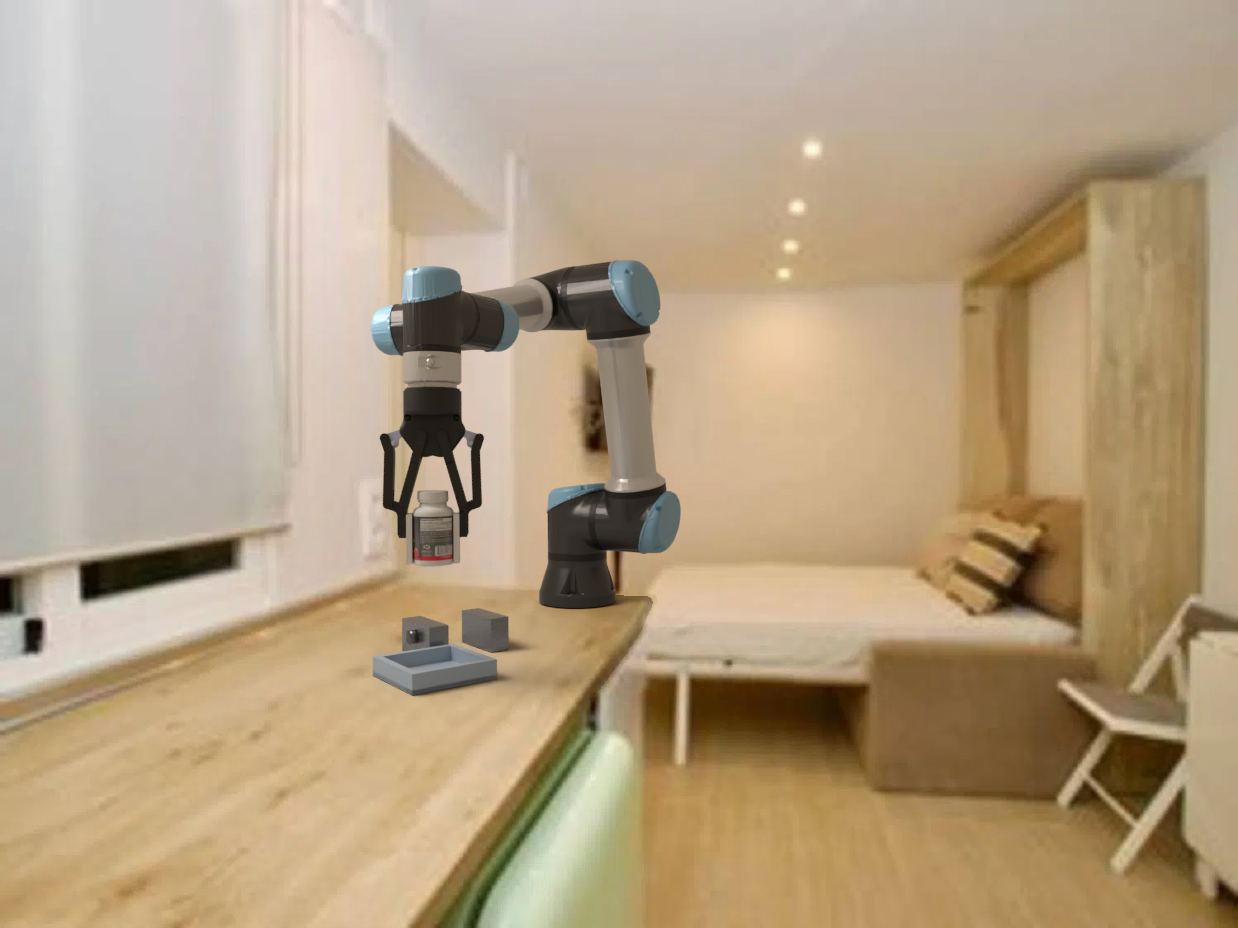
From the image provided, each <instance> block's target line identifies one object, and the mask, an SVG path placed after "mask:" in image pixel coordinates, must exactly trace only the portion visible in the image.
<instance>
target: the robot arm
mask: <svg viewBox="0 0 1238 928" xmlns="http://www.w3.org/2000/svg"><path fill="white" fill-rule="evenodd" d="M461 279H462V278H461V275H460V273H459V272H458V271H456V270H455V269H454V268H450V267H446V266H435V265H423V266H416V267H412V268H409V269H407V271H405V272H404V275H403V282H402V296H401V304H400V303H395V304H394V303H393V304H391V305H387V306H382V307H380V308H379V309H378V310H376V311H375V313H374V314H373V315H372V319H371V322H370V331H371V337H372V341H373V344H374V345H375V346H376V348H377V349H378V350H379V351H380V352H381V353H383V354H385V355H389V356H400V357H402V368H403V369H402V370H403V371H402V375H403V376H402V378H403V379H402V382H403V383H404V384H406V385H407V387H405V388H404V390H403V393H402V394H403V395H402V396H403V397H402V398H403V399H402V400H403V403H402V404H403V411H402V412H403V419H402V423H401V424H400V426H399V429H397V430H393V431H391V432H388V433H381V434H380V435H379V440H380V443H381V446H382V449H383V481H382V507H383V508H384V509H385V510H389V511H392V512H394V513H395V514H396V516H397V517H396V518H397V524H396V525H397V533H396V534H397V536H398V538H399V539H405V550H406V553H405V554H406V555H405V557H406V558H405V559H406V561H405V562H406V563H405V565H413V564H414V563H413V512H409V511H408V510H409V506H410V503H411V501H412V496H413V492H414V490H415V489H414V488H415V485H416V483H417V479H418V474H419V470H420V467H421V465H422V460H423V458H428V457H436V458H437V457H438V458H443V461H444V463H445V467H446V470H447V473H448V476H449V480H450V483H451V487H452V490H453V493H454V497H455V501H456V504H457V507H458V512H454V514H453V531H454V563H453V564H461V563H460V562H461V538H467V537H468V535H469V532H470V531H469V528H470V527H469V514H470V512H471V511H474V510H475V509H479V508H480V507H481V506H482V504H483V499H482V498H483V496H482V495H483V494H482V492H483V491H482V468H481V467H482V466H481V449H482V446H483V444H484V440H485V436H484V434H483V433H480V432H479V433H477V432H473V431H470V430H467V429H466V427H465V425H464V423H463V421H462V420H463V417H462V413H463V412H462V411H463V410H462V409H463V407H462V402H463V401H462V398H463V397H462V391H461V389H460V388H458V387H457V386H460V384H461V383H462V352H464V351H484V352H486V353H490V352H496V353H497V352H498V353H500V352H503V351H506V350H508V349H510V348H511V347H512V346H513V345H514V343H515V342H516V340H517V338H518V336H519V333H520V330H522V331H524V332H527V333H537V332H540V331H541V332H543V331H585V332H586V333H585V335H586V341H587V343H589V344H590V345H591V346H593V347H594V349H595V350H596V355H597V363H598V375H599V382H600V389H601V390H600V392H601V400H602V408H603V416H604V427H605V428H604V429H605V434H606V435H605V436H606V445H607V453H608V461H609V462H608V463H609V469H610V478H608V480H607V481H606V483H605V482H596V483H586V484H577V485H571V486H563V487H557V488H553V489H551V490H550V492H549V493H548V495H547V496H548V497H547V509H546V514H547V565H546V568H545V571H544V575H543V578H542V581H541V585H540V588H539V591H538V601H539V604H541V605H543V606H546V607H547V606H548V607H553V608H566V609H567V608H568V609H582V608H583V609H585V608H586V609H587V608H597V607H605V606H609V605H612V604H615V603H616V602H617V595H616V594H617V593H616V592H617V591H616V588H615V585H614V581H613V578H612V574H611V571H610V569H609V566H608V562H607V561H608V560H607V559H608V557H607V556H608V553H607V552H608V551H609V552H623V553H624V552H625V553H637V554H638V553H639V554H641V555H646V554H661V553H663V552H665V551H666V550H668V549H669V548H670V547H671V546H672V544H673V543H674V542H675V539H676V537H677V534H678V531H679V528H680V524H681V522H680V521H681V515H682V513H681V512H682V508H681V502H680V499H679V497H678V494H676V493H675V492H673V491H672V490H668V489H667V482H666V481H667V480H666V477H663V475H661V474H660V473H659V472H658V471H657V463H656V452H655V445H654V443H655V442H654V435H653V426H652V417H651V416H652V415H651V414H652V413H651V404H650V396H649V388H648V387H649V386H648V378H647V366H646V356H645V349H644V344H645V342H646V341H647V339H648V338H649V337H650V336H651V334H652V333H651V326H652V325H653V324H654V325H655V323H656V322H657V321H658V319H659V317H660V309H661V298H660V297H661V296H660V290H659V288H658V284H657V281H656V280H655V277H654V274H652V272H651V271H650V270H649V267H647V266H646V265H645V263H643V262H641V261H639V260H634V259H630V260H629V259H626V260H621V259H619V260H618V259H616V260H613V261H605V262H598V263H591V264H583V265H576V266H575V265H573V266H566V267H562V268H558V269H556V270H551V271H548V272H545V273H542V274H539V275H535V276H531V277H526V278H522V279H520V280H517V281H516V282H515V283H514V284H513V285H512V286H507V287H500V288H494V289H488V290H482V291H475V292H467V291H464V290H463V285H462V281H461ZM401 438H402V439H403V441H405V443H406V444H407V446H408V447H409V449H411V451H412V452H411V456H410V459H409V465H408V468H407V472H406V475H405V478H404V482H403V485H402V490H401V494H400V497H399V500H398V501H397V500H395V491H396V490H395V487H396V486H395V484H396V449H397V448H398V447H399V446H400V439H401ZM463 438H464V439H465V440H466V446H467V447H468V448H470V465H471V466H470V468H471V469H470V470H471V471H470V472H471V497H472V499H471V500H467V497H466V494H465V493H466V492H465V491H464V486H463V483H462V480H461V476H460V472H459V469H458V466H457V463H456V459H455V455H454V450H456V448H457V446H458V445H459V443H460V442H461V440H462V439H463Z"/></svg>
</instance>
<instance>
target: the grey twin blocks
mask: <svg viewBox="0 0 1238 928" xmlns="http://www.w3.org/2000/svg"><path fill="white" fill-rule="evenodd" d="M449 628H450V627H449V624H446V623H443V622H441V621H438V620H435V619H431V618H428V617H425V616H422V615H416V616H408V617H402V618H401V648H402V651H401V652H403V651H410V650H416V649H422V648H429V647H435V646H441V645H448V644H450V643H449V640H450V639H449V634H450V633H449V631H450V629H449ZM509 632H510V631H509V616H507V615H504V614H501V613H498V612H494V611H490V610H487V609H483V608H480V607H478V608H476V607H475V608H470V609H469V608H468V609H462V610H461V642H462V643H464V644H466V645H469V646H471V647H475V648H477V649H480V650H484V651H485V652H489V653H497V652H502V651H509V638H510V637H509V636H510V635H509Z"/></svg>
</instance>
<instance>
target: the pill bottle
mask: <svg viewBox="0 0 1238 928" xmlns="http://www.w3.org/2000/svg"><path fill="white" fill-rule="evenodd" d="M416 494H417V496H416V500H417V502H418V503H419V504H418V505H419V506H417V507H415V508H414V509H413V511H412V513H413V564H414V565H415V566H418V567H425V568H426V567H428V568H429V567H431V568H432V567H433V568H434V567H444V566H445V567H446V566H451V565H453V564H455V563H454V531H453V514H454V510H453V508H452V507H450V506H448V504H447V503H448V502H449V498H450V497H449V491H448V490H447V489H437V490H436V489H431V490H430V489H424V490H423V489H422V490H418V491H417V493H416Z"/></svg>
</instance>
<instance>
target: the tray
mask: <svg viewBox="0 0 1238 928" xmlns="http://www.w3.org/2000/svg"><path fill="white" fill-rule="evenodd" d="M372 676H373V677H375V678H377V679H379V680H381V681H382V682H384V683H387V684H389V685H391V686H392V687H394V688H397V689H398V690H400V691H402V692H404V693H407V694H409V695H410V696H417V695H422V694H426V693H427V694H428V693H432V692H437V691H438V692H439V691H444V690H448V689H452V688H459V687H463V686H469V685H473V684H480V683H483V682H489V681H494V680H498V659H497V658H494V657H492V656H489V655H486V654H483V653H480V652H478V651H474V650H472V649H469V648H467V647H464V646H462V645H458V644H455V643H449V644H448V645H441V646H435V647H429V648H422V649H416V650H410V651H403V652H402V651H398V652H391V653H386V654H379V655H373V656H372Z"/></svg>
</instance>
